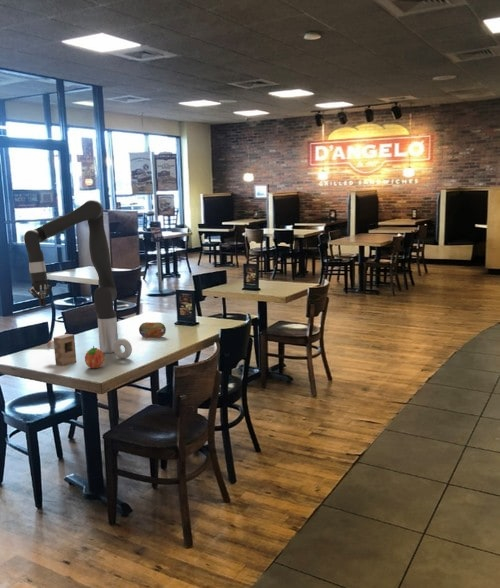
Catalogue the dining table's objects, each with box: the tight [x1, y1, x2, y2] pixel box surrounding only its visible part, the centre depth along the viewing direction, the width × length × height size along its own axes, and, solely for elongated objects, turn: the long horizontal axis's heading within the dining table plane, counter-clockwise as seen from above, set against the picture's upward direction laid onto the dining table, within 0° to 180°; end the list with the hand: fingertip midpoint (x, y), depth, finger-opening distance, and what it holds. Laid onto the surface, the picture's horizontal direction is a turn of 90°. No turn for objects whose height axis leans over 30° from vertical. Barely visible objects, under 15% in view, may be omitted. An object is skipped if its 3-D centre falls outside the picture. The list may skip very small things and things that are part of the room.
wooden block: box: [52, 333, 77, 367], centre depth 273 cm, size 5×8×13 cm, turn 150°
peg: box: [46, 340, 67, 350], centre depth 276 cm, size 9×4×4 cm, turn 60°
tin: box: [138, 321, 167, 339], centre depth 321 cm, size 15×3×8 cm, turn 76°
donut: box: [113, 337, 133, 360], centre depth 278 cm, size 10×4×10 cm, turn 66°
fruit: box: [84, 345, 105, 369], centre depth 264 cm, size 9×10×10 cm
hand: (42, 306), depth 286 cm, fingers closed
